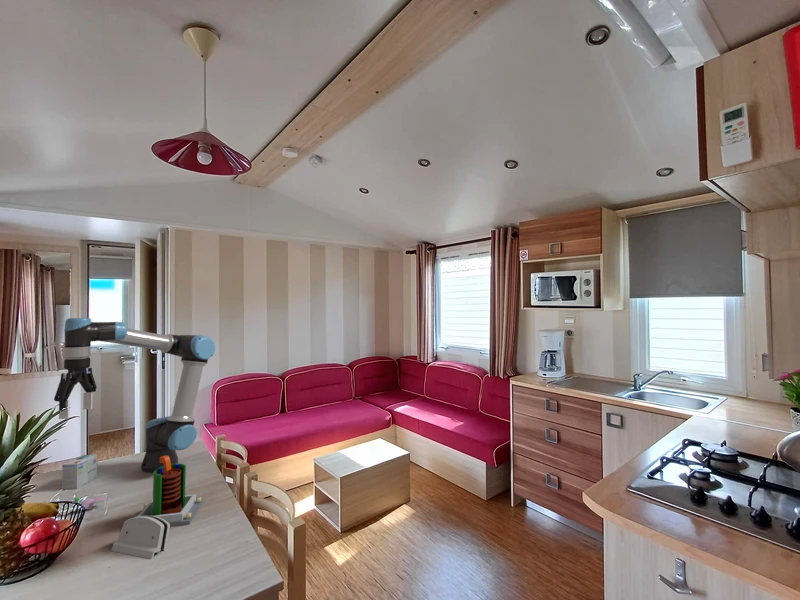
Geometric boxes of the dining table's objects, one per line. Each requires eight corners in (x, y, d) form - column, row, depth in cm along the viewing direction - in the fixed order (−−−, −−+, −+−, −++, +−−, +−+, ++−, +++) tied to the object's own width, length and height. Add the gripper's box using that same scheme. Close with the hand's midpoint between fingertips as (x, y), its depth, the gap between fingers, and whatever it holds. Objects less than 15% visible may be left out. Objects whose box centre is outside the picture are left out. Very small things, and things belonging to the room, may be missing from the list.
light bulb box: (82, 478, 164) (82, 454, 164) (97, 477, 164) (97, 453, 164) (60, 489, 153) (61, 464, 153) (77, 489, 153) (77, 463, 154)
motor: (167, 521, 127) (167, 463, 127) (145, 518, 128) (146, 462, 129) (188, 505, 137) (189, 452, 137) (168, 503, 138) (168, 451, 139)
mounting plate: (146, 508, 137) (146, 499, 137) (203, 502, 141) (203, 492, 141) (125, 532, 122) (125, 521, 122) (189, 524, 127) (189, 513, 127)
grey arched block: (110, 550, 113) (121, 514, 116) (124, 547, 117) (134, 512, 121) (152, 559, 109) (162, 521, 112) (165, 554, 113) (174, 518, 117)
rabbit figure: (54, 523, 130) (105, 506, 137) (50, 508, 130) (102, 491, 137) (61, 515, 136) (110, 499, 142) (58, 500, 136) (107, 484, 142)
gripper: (86, 354, 149) (86, 405, 148) (41, 362, 125) (39, 424, 124) (107, 353, 151) (106, 404, 150) (66, 361, 126) (65, 422, 126)
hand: (76, 413), depth 137 cm, fingers open, 13 cm apart
